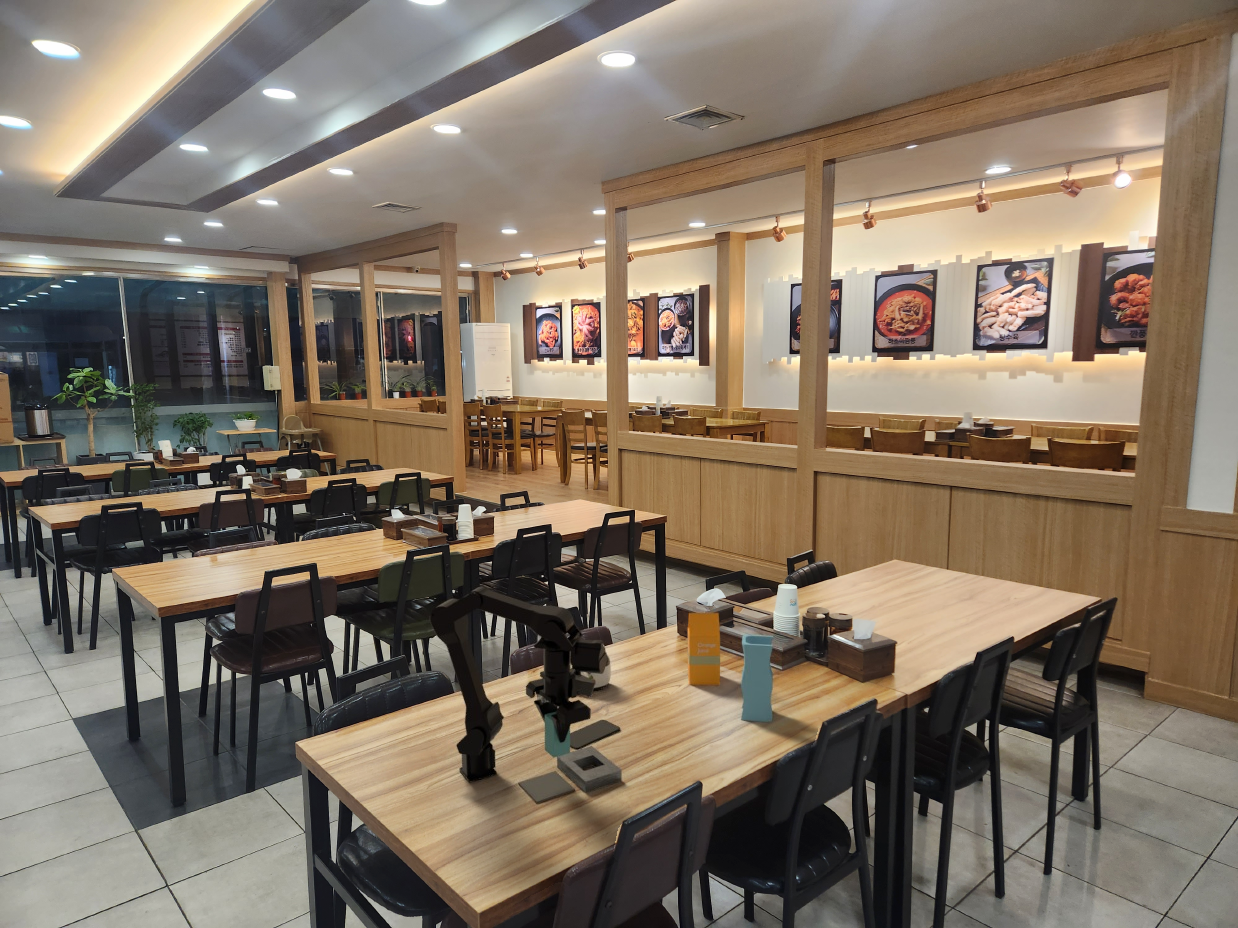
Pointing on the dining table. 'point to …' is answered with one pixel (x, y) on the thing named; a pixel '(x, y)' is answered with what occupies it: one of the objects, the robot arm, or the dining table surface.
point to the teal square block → (555, 739)
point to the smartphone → (592, 733)
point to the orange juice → (703, 649)
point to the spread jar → (600, 676)
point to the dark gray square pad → (546, 787)
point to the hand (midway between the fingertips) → (557, 737)
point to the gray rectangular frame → (593, 777)
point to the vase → (757, 678)
